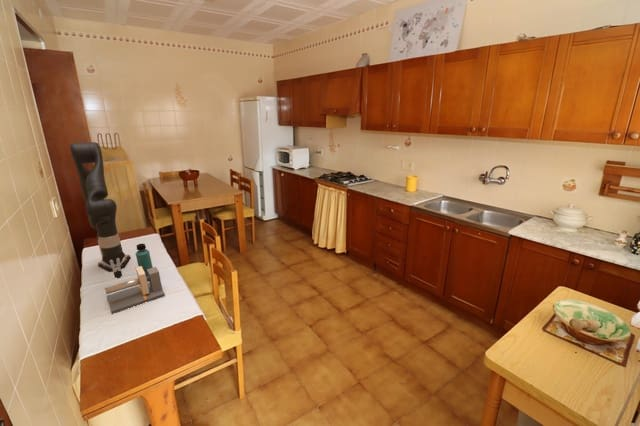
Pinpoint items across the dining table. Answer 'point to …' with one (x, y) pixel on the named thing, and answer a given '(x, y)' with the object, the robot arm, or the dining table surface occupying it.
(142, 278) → the beige rectangular block
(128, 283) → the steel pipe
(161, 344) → the dining table surface
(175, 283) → the dining table surface
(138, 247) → the beverage bottle
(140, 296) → the mount board
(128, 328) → the dining table surface
